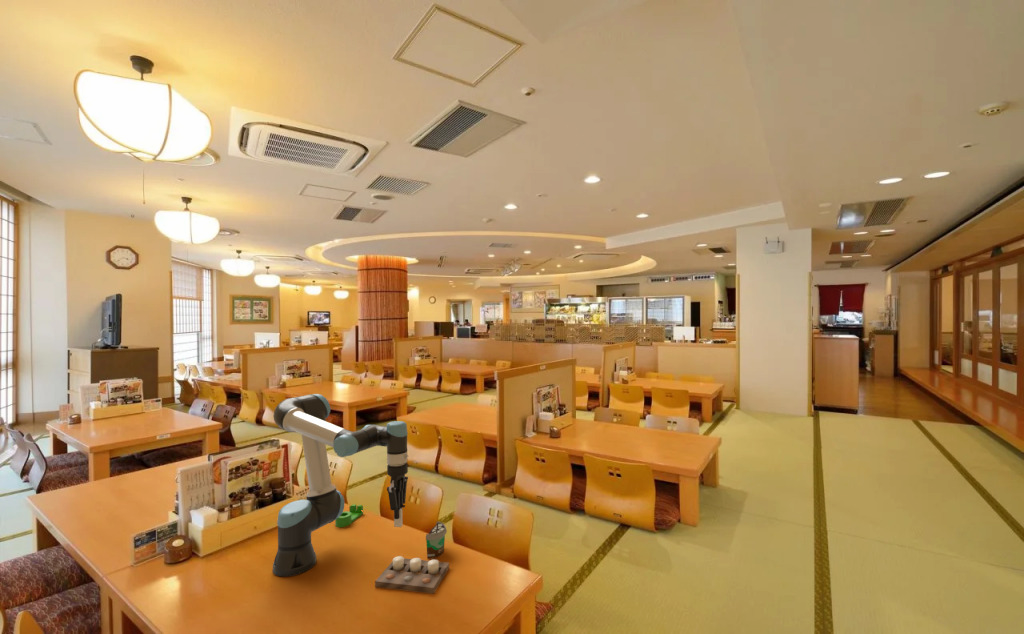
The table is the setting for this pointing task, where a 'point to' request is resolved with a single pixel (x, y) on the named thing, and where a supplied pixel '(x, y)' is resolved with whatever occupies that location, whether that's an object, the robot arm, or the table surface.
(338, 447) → the robot arm
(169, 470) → the table surface
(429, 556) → the food container
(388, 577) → the board
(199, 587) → the table surface
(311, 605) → the table surface
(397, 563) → the button left
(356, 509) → the green ring bracket
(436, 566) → the button right
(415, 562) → the button mid
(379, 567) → the table surface
